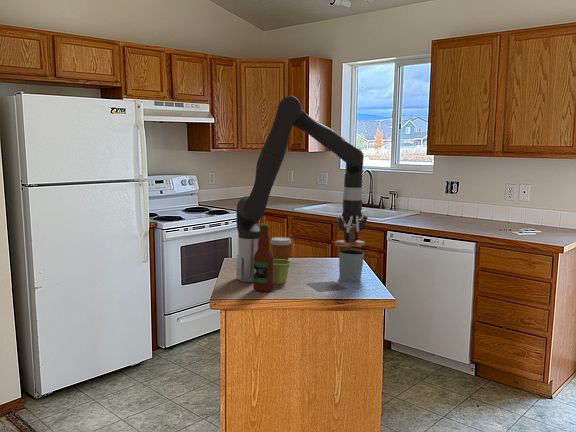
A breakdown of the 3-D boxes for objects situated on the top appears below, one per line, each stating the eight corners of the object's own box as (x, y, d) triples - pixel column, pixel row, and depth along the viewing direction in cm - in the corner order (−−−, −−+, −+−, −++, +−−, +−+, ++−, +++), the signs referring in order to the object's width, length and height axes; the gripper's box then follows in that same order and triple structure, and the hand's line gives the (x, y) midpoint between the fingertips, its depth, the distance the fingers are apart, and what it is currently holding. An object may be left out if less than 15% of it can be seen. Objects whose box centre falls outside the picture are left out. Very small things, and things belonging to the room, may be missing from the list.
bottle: (251, 287, 198) (252, 222, 194) (269, 286, 200) (270, 222, 197) (256, 293, 191) (257, 225, 187) (275, 292, 193) (276, 225, 190)
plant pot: (293, 281, 208) (294, 260, 207) (285, 287, 200) (286, 265, 198) (271, 279, 211) (272, 258, 210) (262, 284, 203) (263, 263, 201)
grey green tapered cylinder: (335, 277, 216) (336, 248, 215) (359, 277, 217) (361, 248, 216) (340, 283, 206) (341, 254, 205) (365, 283, 207) (367, 254, 206)
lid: (343, 247, 203) (343, 229, 202) (329, 243, 214) (329, 226, 213) (370, 245, 208) (370, 227, 207) (355, 242, 219) (355, 225, 218)
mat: (319, 293, 192) (319, 292, 192) (305, 285, 203) (305, 283, 203) (347, 290, 197) (347, 289, 197) (333, 282, 208) (333, 281, 208)
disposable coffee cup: (283, 268, 229) (283, 241, 227) (265, 265, 234) (266, 239, 232) (294, 264, 237) (295, 238, 235) (277, 261, 242) (278, 236, 240)
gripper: (341, 200, 201) (339, 244, 204) (372, 199, 207) (370, 241, 209) (332, 197, 208) (331, 240, 210) (363, 197, 213) (361, 238, 216)
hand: (350, 240), depth 210 cm, fingers closed on lid, 3 cm apart
